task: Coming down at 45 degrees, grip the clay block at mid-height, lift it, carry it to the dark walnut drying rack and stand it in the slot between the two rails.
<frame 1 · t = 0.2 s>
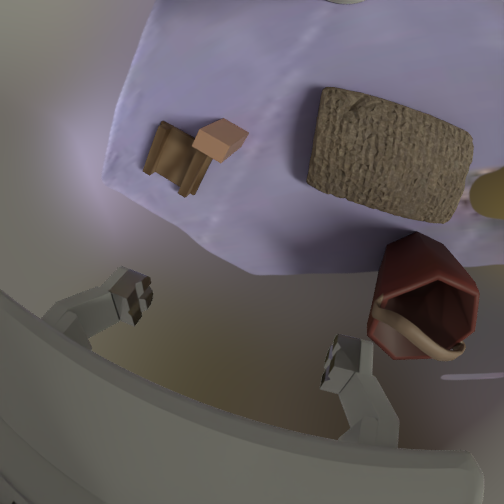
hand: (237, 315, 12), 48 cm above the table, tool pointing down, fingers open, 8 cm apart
rack: (179, 157, 62), on the table
bucket: (414, 262, 60), on the table
stone tablet: (391, 153, 49), on the table
clay block: (232, 132, 55), on the table
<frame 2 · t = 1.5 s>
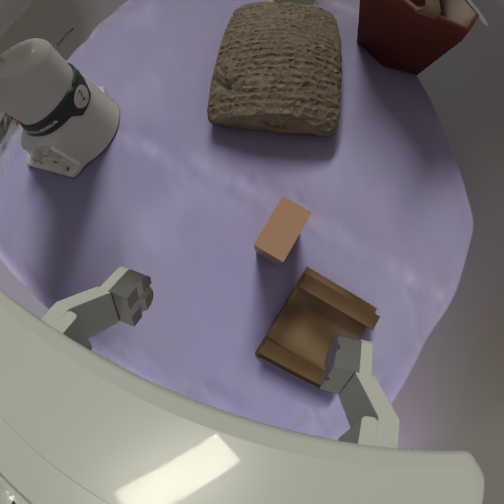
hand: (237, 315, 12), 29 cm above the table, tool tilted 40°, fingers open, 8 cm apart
rack: (317, 331, 40), on the table
bucket: (390, 44, 44), on the table
stone tablet: (279, 67, 45), on the table
clay block: (278, 241, 42), on the table
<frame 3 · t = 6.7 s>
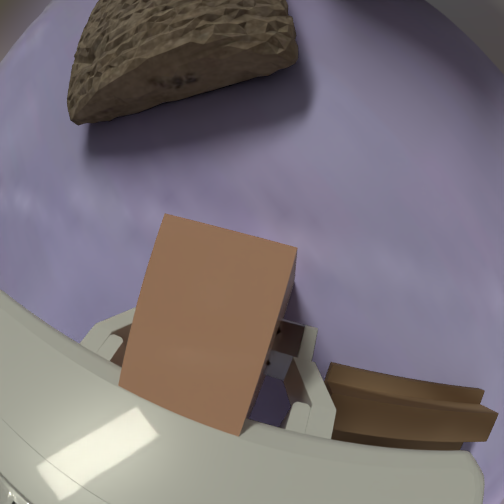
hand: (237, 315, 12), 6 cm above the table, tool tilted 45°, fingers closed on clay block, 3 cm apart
rack: (376, 469, 15), on the table
stone tablet: (186, 17, 24), on the table
clay block: (252, 321, 18), on the table, touching gripper
when the fingers open (8 cm above the table, at t = 11.9 s): clay block drops 1 cm, resting on rack.
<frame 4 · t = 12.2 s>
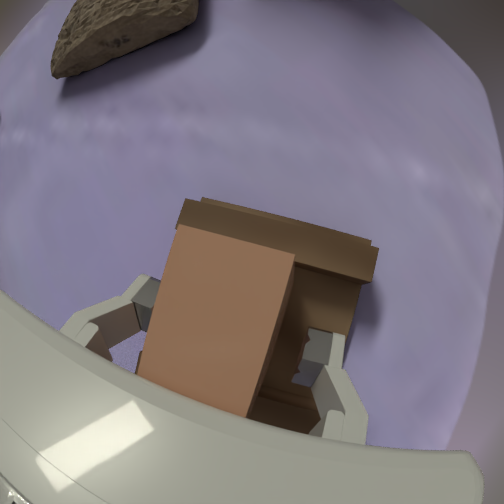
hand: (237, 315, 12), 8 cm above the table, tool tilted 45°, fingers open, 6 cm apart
rack: (256, 319, 19), on the table
stone tablet: (140, 5, 29), on the table
clay block: (254, 319, 19), point 1 cm above the table, touching rack
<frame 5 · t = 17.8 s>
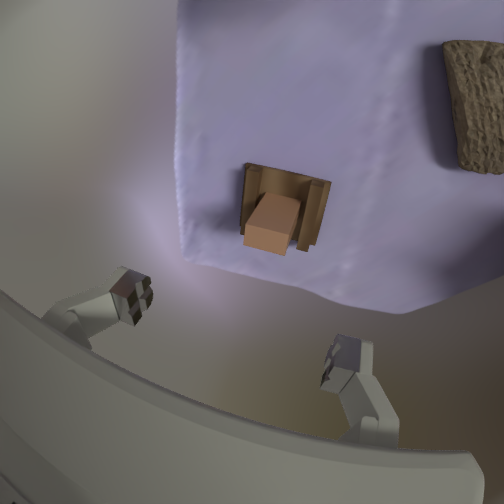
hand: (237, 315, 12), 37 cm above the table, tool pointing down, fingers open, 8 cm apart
rack: (283, 203, 50), on the table
clay block: (282, 205, 49), point 1 cm above the table, touching rack
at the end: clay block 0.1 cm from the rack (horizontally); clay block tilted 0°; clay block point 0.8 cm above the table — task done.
